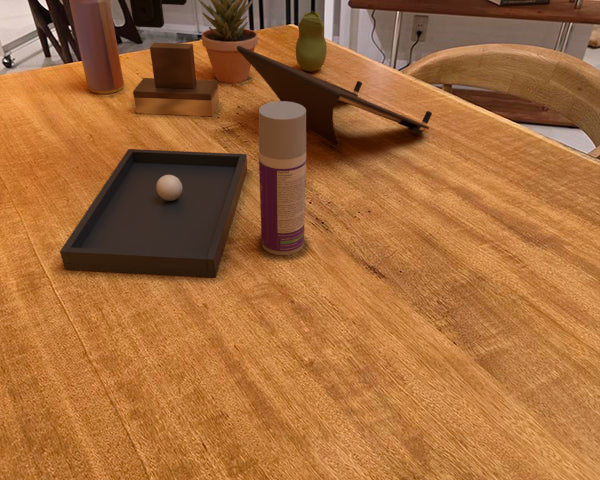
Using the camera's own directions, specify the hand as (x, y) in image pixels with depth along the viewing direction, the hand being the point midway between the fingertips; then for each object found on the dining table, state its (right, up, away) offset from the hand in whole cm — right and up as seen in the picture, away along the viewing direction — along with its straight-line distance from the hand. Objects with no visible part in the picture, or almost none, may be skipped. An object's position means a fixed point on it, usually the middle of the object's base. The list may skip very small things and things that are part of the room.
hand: (161, 14), depth 66 cm
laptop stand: (+22, -6, +23) cm, 32 cm away
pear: (+17, +10, +43) cm, 47 cm away
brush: (-4, -1, +28) cm, 28 cm away
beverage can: (-17, +4, +34) cm, 38 cm away
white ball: (0, -19, +3) cm, 19 cm away
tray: (0, -22, +3) cm, 22 cm away
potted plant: (+3, +8, +39) cm, 40 cm away
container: (+14, -26, -1) cm, 29 cm away
